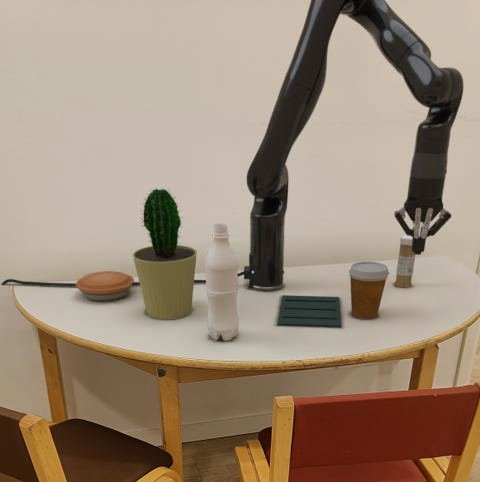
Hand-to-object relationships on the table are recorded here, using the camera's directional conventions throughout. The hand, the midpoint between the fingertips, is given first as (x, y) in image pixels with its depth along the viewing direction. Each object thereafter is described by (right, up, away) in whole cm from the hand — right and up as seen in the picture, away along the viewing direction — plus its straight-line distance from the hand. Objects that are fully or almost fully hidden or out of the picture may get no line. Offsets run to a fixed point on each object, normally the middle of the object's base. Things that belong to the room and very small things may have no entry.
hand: (416, 253), depth 140 cm
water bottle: (-45, -20, -2) cm, 49 cm away
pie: (-78, -4, +24) cm, 82 cm away
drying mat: (-24, -11, +11) cm, 29 cm away
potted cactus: (-59, -11, +13) cm, 62 cm away
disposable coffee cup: (-10, -13, +9) cm, 19 cm away
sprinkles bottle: (+4, -1, +28) cm, 29 cm away
